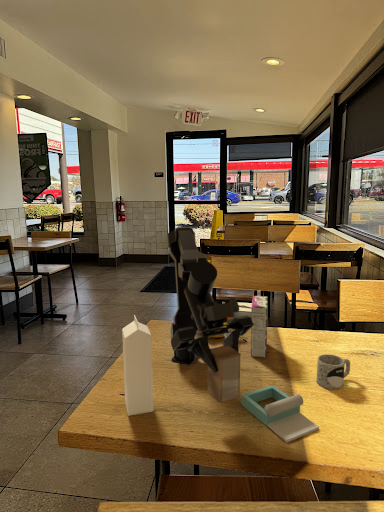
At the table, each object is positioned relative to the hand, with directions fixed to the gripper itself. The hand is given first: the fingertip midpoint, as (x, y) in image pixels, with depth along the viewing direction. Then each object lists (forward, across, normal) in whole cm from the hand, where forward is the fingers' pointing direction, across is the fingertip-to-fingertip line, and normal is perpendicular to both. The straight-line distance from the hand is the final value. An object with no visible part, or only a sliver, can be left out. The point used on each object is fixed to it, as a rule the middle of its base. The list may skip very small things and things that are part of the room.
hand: (227, 369), depth 78 cm
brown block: (+4, 0, +6) cm, 7 cm away
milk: (-2, -14, +21) cm, 25 cm away
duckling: (-21, +24, +40) cm, 51 cm away
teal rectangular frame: (+11, +12, +8) cm, 18 cm away
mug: (+8, +36, +11) cm, 38 cm away
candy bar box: (-10, +30, +29) cm, 43 cm away
